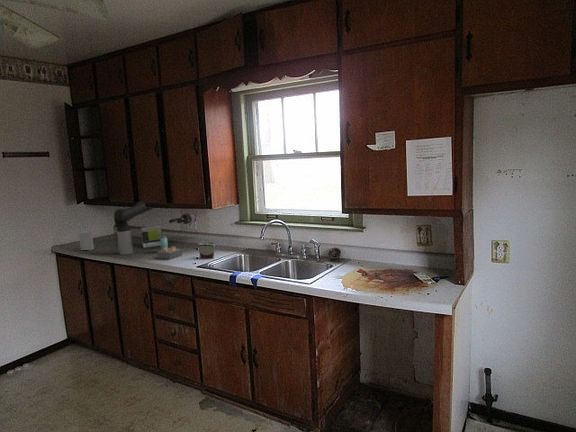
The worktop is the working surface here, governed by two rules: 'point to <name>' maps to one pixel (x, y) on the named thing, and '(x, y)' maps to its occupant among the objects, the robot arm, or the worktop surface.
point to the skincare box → (86, 240)
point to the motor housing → (169, 253)
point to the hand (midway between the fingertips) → (173, 221)
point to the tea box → (151, 236)
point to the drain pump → (163, 242)
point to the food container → (206, 250)
